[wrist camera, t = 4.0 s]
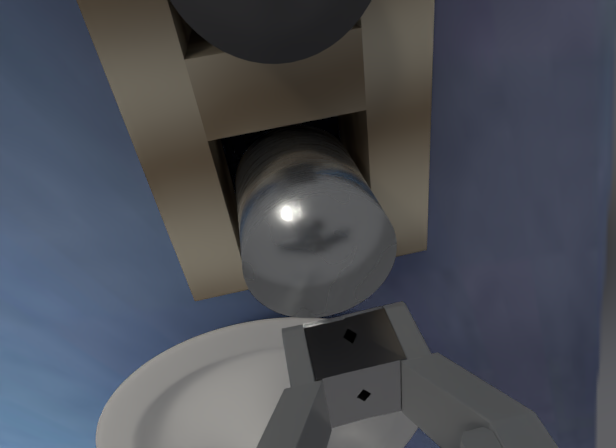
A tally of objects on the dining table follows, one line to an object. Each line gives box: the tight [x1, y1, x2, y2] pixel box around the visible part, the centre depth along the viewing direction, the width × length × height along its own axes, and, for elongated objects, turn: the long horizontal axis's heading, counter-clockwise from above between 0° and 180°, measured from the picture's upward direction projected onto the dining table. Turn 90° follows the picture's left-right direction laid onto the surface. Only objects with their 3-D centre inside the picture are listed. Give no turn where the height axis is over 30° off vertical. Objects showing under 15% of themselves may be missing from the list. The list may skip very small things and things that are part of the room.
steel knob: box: [235, 125, 397, 318], centre depth 15 cm, size 5×5×5 cm
